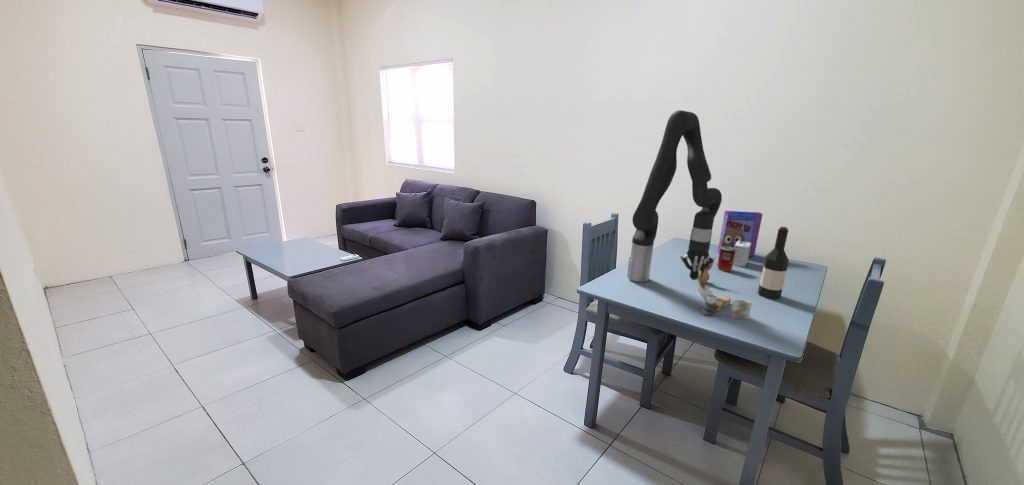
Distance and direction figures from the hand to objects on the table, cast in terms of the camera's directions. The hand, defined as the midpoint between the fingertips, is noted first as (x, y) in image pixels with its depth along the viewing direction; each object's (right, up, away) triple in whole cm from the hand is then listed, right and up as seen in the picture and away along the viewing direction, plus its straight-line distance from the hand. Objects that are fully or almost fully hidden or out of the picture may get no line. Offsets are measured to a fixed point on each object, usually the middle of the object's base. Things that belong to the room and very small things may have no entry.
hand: (693, 279), depth 167 cm
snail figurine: (+13, -3, +20) cm, 24 cm away
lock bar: (+3, -7, -5) cm, 9 cm away
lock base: (+7, -11, -6) cm, 14 cm away
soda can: (+32, +1, +37) cm, 49 cm away
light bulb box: (+45, +4, +47) cm, 65 cm away
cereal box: (+51, +8, +62) cm, 80 cm away
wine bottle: (+35, -8, +7) cm, 37 cm away
